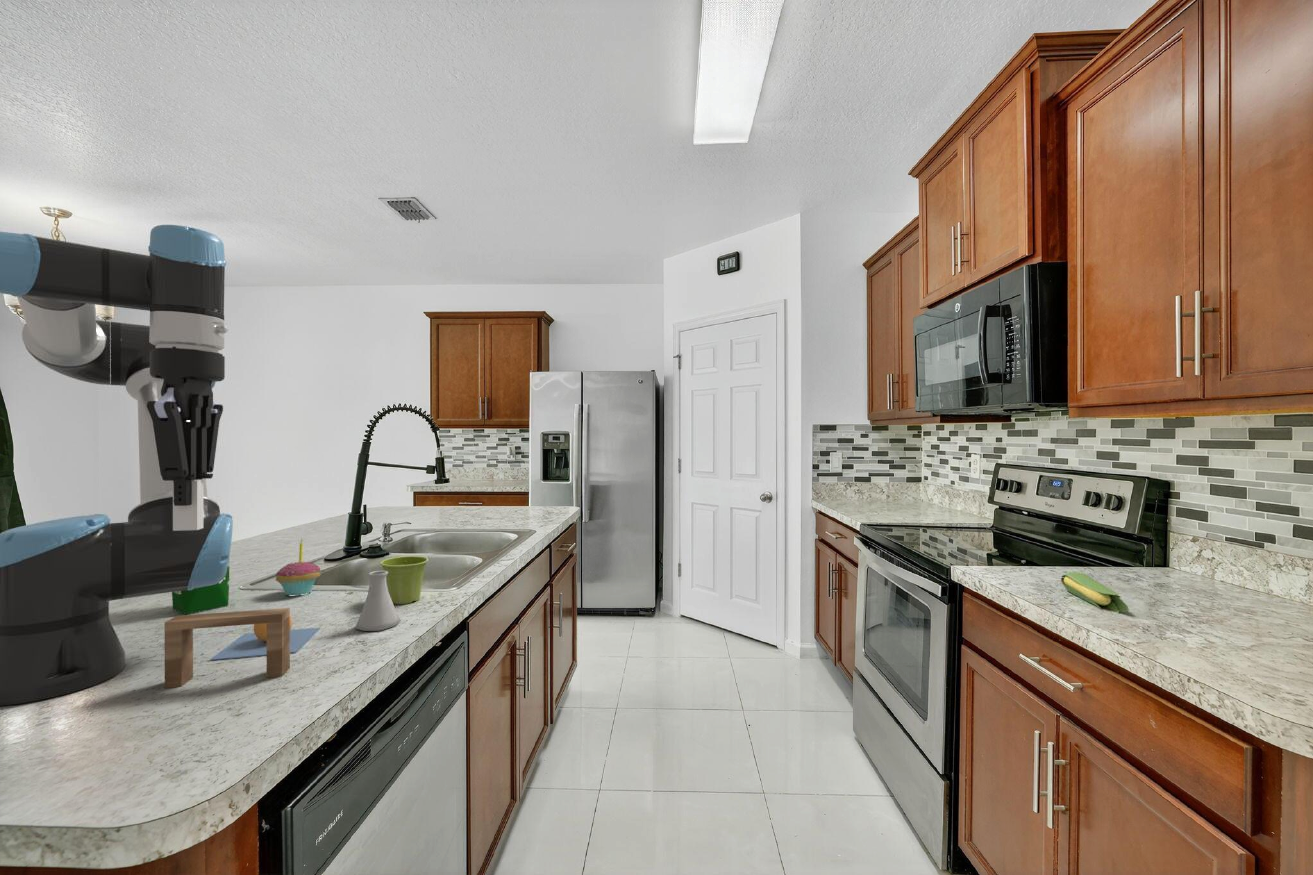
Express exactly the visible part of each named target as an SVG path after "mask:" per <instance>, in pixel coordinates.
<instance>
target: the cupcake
mask: <svg viewBox="0 0 1313 875" xmlns="http://www.w3.org/2000/svg"><path fill="white" fill-rule="evenodd" d="M298 552H299V553H298V555H299V557H298V562H290V563H288V564H285V565H284V566H283V567H282V568H280V569H279V570H278V571H277V572H276V574H275V575H276V577H275V581H277V582H278V583H279V584H280V586H282V588H283V591H284V594H285V596H286V595H301V594H306V593H308V592H310V593H312V589H313V586H314V583H315V581H316V580H317V578H320V577H321V568H320V566H319V565H317V564H316V563H314V562H310V561H307V562H306V561H303V557H304V556H303V555H304V542H303V539H302V538H301V540H300V543H299V550H298Z"/></svg>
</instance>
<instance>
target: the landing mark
mask: <svg viewBox="0 0 1313 875" xmlns="http://www.w3.org/2000/svg"><path fill="white" fill-rule="evenodd" d="M319 630H321V627H311V628H310V627H309V628H299V629H291V630H290V654H296V653H298V652H299V651H300V650H301V649H302V648H303V646H304V645H306V643H308V642H309V640H310V639H311V638H313V636H314V635H315V634H316V633H317V632H318V631H319ZM265 656H266V657H267V642H264V641H261V640H259V639H258V638H257V637H256V635H255V633H254V632H250V633H249V632H247V633H243V634H242V635H240V636H239V637H238V638H237V639H236V640H234V641H233V642H231V643H230V644H229V645H227V646H226V647H224V648H223V649H222V650H221V651H219V652H217V653H216V654H215V655H214V656H213V657H211V658H210V659H209V661H213V662H214V661H221V660H222V661H223V660H224V661H225V660H233V659H243V658H244V659H245V658H256V657H265Z"/></svg>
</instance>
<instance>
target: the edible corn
mask: <svg viewBox="0 0 1313 875" xmlns="http://www.w3.org/2000/svg"><path fill="white" fill-rule="evenodd" d="M1060 581H1061V583H1062V585H1063V586H1064V588H1065V589H1066V590H1067V591H1068V592H1069V593H1070V594H1072V595H1074V596H1076V597H1078V598H1080V599H1081V600H1084V601H1085V602H1088V603H1089V604H1091V605H1093V606H1095V607H1096V608H1099V609H1100V610H1102V611H1104V609H1106V608H1107V609H1108V610H1110V611H1113V612H1114V613H1117V614H1120V612H1124V613H1126V612H1129V611H1130V609H1129V606H1128V605H1127V604H1126V603H1125V601H1123V599H1121V596H1120V595H1119V593H1117V592H1116V591H1114V590H1112V589H1111V588H1109V587H1107V586H1105V585H1103V584H1101V582H1099V581H1098V580H1095V579H1094V578H1092V577H1091V576H1089V575H1087V574H1085V573H1084V572H1078V571H1071V572H1068V573H1065V574H1063V575H1061V578H1060ZM1101 606H1104V607H1106V608H1104V607H1101Z"/></svg>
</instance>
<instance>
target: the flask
mask: <svg viewBox="0 0 1313 875" xmlns="http://www.w3.org/2000/svg"><path fill="white" fill-rule="evenodd" d="M387 574H388V571H384V570H375V571H371V572H369V573H368V574H367V577H368V578H369V587H368V591H367V595H366V599H365V601H364V604H363V607H362V608H361V611H360V614H359V617H358V620H357V623H356V624H355V627H354V629H356V630H358V631H359V630H360V631H363V632H372V631H373V632H375V631H376V632H378V631H383V630H386V629H387V630H388V629H389V628H393V627H395V626H397V625H398V624H399V623H400V622H401V618H400V616H399V614H398V611H397V609H396V607H395V606H394V603H393V602H392V600H391V597H390V595H389V592H388V588H387V583H386V575H387Z"/></svg>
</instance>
